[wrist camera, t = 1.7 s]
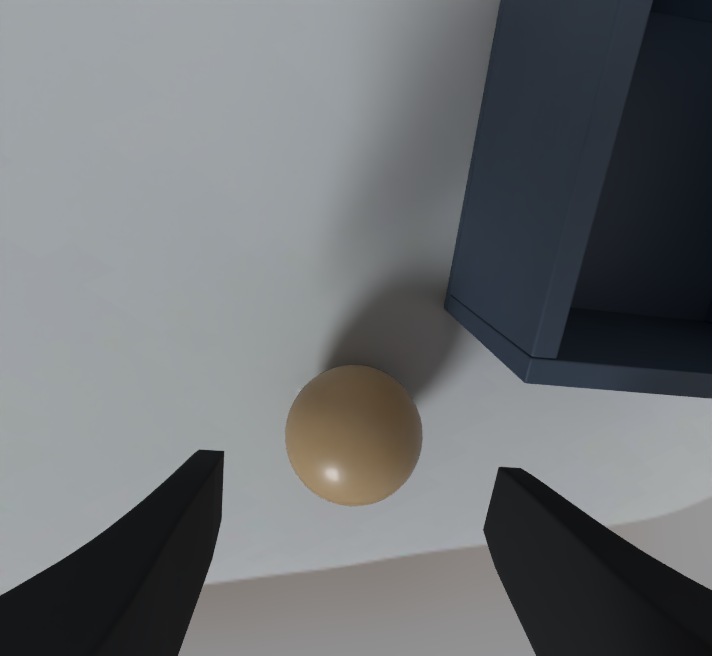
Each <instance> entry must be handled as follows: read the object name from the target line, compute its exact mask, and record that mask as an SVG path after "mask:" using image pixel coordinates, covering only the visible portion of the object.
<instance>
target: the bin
mask: <svg viewBox="0 0 712 656" xmlns="http://www.w3.org/2000/svg"><path fill="white" fill-rule="evenodd" d="M444 309H445V310H446V311H447V312H448V313H450V314H451V315H452V316H453V317H454V318H455V319H456V320H457V321H458V322H459V323H460V324H461V325H463V326H464V327H465V328H466V329H467V330H468V331H469V332H470V333H471V334H472V335H473V336H474V337H476V338H477V339H478V340H479V341H480V342H481V343H482V344H483V345H484V346H485V347H486V348H487V349H489V350H490V351H491V352H492V353H493V354H494V355H495V356H496V357H497V358H498V359H499V360H500V361H502V362H503V363H504V364H505V365H506V366H507V367H508V368H509V369H510V370H511V371H512V372H513V373H515V374H516V375H517V376H518V377H519V378H520V379H521V380H522V381H523V382H524V383H530V384H542V385H554V386H566V387H579V388H591V389H603V390H615V391H627V392H639V393H652V394H664V395H676V396H688V397H700V398H712V0H501V1H500V7H499V12H498V18H497V23H496V28H495V34H494V39H493V45H492V50H491V56H490V61H489V66H488V72H487V77H486V83H485V88H484V93H483V99H482V104H481V110H480V115H479V121H478V126H477V131H476V137H475V142H474V148H473V153H472V159H471V164H470V169H469V175H468V180H467V186H466V191H465V197H464V202H463V207H462V213H461V218H460V224H459V229H458V235H457V240H456V245H455V251H454V256H453V262H452V267H451V273H450V278H449V283H448V289H447V294H446V300H445V305H444Z"/></svg>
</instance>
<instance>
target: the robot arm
mask: <svg viewBox="0 0 712 656" xmlns="http://www.w3.org/2000/svg"><path fill="white" fill-rule="evenodd" d="M223 467H224V451H213V450H198V451H197V452H195V453H194V454H193V455H192V456H191V457H190V458H189V459H188V460H187V461H186V462H185V463H184V464H183V465H182V466H181V467H179V468H178V469H177V470H176V471H175V472H174V473H173V474H172V475H171V476H170V477H169V478H168V479H167V480H166V481H164V482H163V483H162V484H161V485H160V486H159V487H158V488H156V489H155V490H154V491H153V492H152V493H151V494H150V495H149V496H147V497H146V498H145V499H144V500H143V501H142V502H140V503H139V504H138V505H137V506H136V507H134V508H133V509H132V510H131V511H129V512H128V513H127V514H125V515H124V516H123V517H122V518H120V519H119V520H118V521H117V522H115V523H114V524H113V525H112V526H110V527H109V528H108V529H106V530H105V531H104V532H102V533H101V534H100V535H98V536H97V537H95V538H94V539H93V540H91V541H90V542H88V543H87V544H85V545H84V546H82V547H81V548H79V549H78V550H76V551H75V552H73V553H72V554H70V555H69V556H67V557H66V558H64V559H62V560H61V561H59V562H58V563H56V564H54V565H52V566H51V567H49V568H47V569H46V570H44V571H42V572H41V573H39V574H37V575H35V576H34V577H32V578H30V579H29V580H27V581H25V582H23V583H22V584H20V585H18V586H17V587H15V588H13V589H12V590H10V591H8V592H6V593H4V594H2V595H1V596H0V656H178V654H179V651H180V648H181V645H182V643H183V639H184V637H185V634H186V631H187V629H188V626H189V623H190V620H191V617H192V614H193V612H194V609H195V606H196V603H197V600H198V598H199V595H200V592H201V589H202V587H203V584H204V581H205V578H206V575H207V572H208V569H209V567H210V564H211V561H212V557H213V553H214V549H215V545H216V541H217V536H218V532H219V528H220V523H221V517H222V492H223ZM483 530H484V534H485V537H486V540H487V544H488V547H489V550H490V553H491V556H492V559H493V562H494V565H495V568H496V570H497V572H498V575H499V577H500V579H501V581H502V583H503V586H504V588H505V590H506V592H507V594H508V596H509V599H510V601H511V603H512V605H513V607H514V609H515V611H516V613H517V616H518V618H519V620H520V622H521V624H522V626H523V628H524V631H525V632H526V635H527V637H528V639H529V641H530V643H531V646H532V648H533V649H534V652H535V654H536V656H712V590H710V589H708V588H706V587H704V586H703V585H701V584H699V583H697V582H695V581H693V580H691V579H690V578H688V577H686V576H684V575H682V574H681V573H679V572H677V571H675V570H674V569H672V568H670V567H668V566H667V565H665V564H663V563H662V562H660V561H658V560H656V559H655V558H653V557H651V556H650V555H648V554H646V553H645V552H643V551H641V550H640V549H638V548H636V547H635V546H633V545H632V544H630V543H629V542H627V541H626V540H624V539H623V538H621V537H620V536H618V535H617V534H615V533H614V532H612V531H611V530H609V529H608V528H606V527H605V526H603V525H602V524H600V523H599V522H597V521H596V520H595V519H593V518H592V517H590V516H589V515H587V514H586V513H585V512H583V511H582V510H580V509H579V508H578V507H576V506H575V505H573V504H572V503H571V502H569V501H568V500H566V499H565V498H564V497H562V496H561V495H559V494H558V493H557V492H555V491H554V490H552V489H551V488H550V487H548V486H547V485H545V484H544V483H543V482H541V481H540V480H538V479H537V478H535V477H534V476H532V475H531V474H529V473H528V472H526V471H524V470H523V469H521V468H509V467H499V469H498V473H497V477H496V481H495V485H494V489H493V493H492V497H491V501H490V505H489V509H488V513H487V517H486V521H485V525H484V529H483Z"/></svg>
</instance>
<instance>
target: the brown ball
mask: <svg viewBox="0 0 712 656" xmlns="http://www.w3.org/2000/svg"><path fill="white" fill-rule="evenodd" d="M285 442H286V449H287V453H288V457H289V460H290V463H291V465H292V467H293V469H294V471H295V473H296V474H297V476H298V477H299V479H300V480H301V481H302V482H303V483H304V485H305V486H306V487H307V488H308V489H310V490H311V491H312V492H313V493H314V494H316V495H318V496H319V497H321V498H323V499H325V500H327V501H329V502H332V503H335V504H339V505H344V506H363V505H368V504H373V503H376V502H378V501H381V500H383V499H385V498H387V497H388V496H390V495H392V494H393V493H394V492H396V491H397V490H398V489H399V488H400V487H401V486H402V485H403V484H404V483H405V482H406V481H407V479H408V478H409V477H410V475H411V474H412V472H413V470H414V468H415V466H416V464H417V462H418V459H419V456H420V452H421V447H422V424H421V419H420V415H419V412H418V409H417V407H416V405H415V403H414V401H413V399H412V397H411V396H410V394H409V393H408V392H407V390H406V389H405V388H404V387H403V386H402V385H401V384H400V383H399V382H398V381H397V380H395V379H394V378H393V377H392V376H390V375H388V374H387V373H385V372H383V371H380V370H378V369H375V368H372V367H368V366H362V365H346V366H340V367H335V368H333V369H330V370H327V371H325V372H323V373H321V374H320V375H318V376H317V377H315V378H314V379H312V380H311V381H310V382H309V383H308V384H306V385H305V387H304V388H303V389H302V390H301V391H300V393H299V394H298V396H297V397H296V399H295V400H294V402H293V404H292V406H291V408H290V411H289V415H288V418H287V422H286V429H285Z"/></svg>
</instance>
